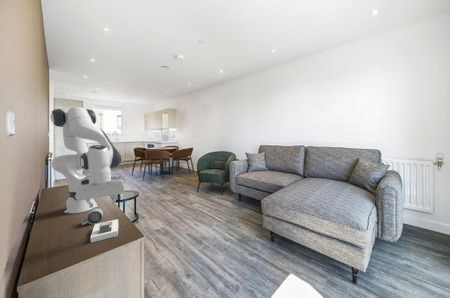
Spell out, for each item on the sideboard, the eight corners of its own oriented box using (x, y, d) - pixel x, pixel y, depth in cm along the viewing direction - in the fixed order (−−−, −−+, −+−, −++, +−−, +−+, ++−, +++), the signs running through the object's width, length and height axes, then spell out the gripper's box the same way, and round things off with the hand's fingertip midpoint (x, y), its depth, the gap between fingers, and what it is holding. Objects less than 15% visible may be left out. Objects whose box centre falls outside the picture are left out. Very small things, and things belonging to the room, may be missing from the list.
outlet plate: (95, 228, 102) (94, 224, 101) (118, 223, 107) (118, 219, 107) (90, 242, 88) (90, 237, 87) (117, 235, 93) (117, 231, 93)
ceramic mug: (103, 217, 116) (102, 205, 115) (103, 222, 109) (101, 209, 108) (82, 222, 110) (80, 209, 110) (80, 228, 103) (78, 214, 103)
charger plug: (101, 234, 95) (100, 223, 95) (110, 232, 97) (109, 221, 97) (100, 238, 92) (99, 226, 91) (109, 235, 93) (108, 224, 93)
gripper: (124, 174, 100) (126, 199, 101) (76, 179, 90) (79, 207, 91) (124, 176, 95) (126, 202, 96) (73, 182, 85) (76, 212, 86)
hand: (103, 205), depth 93 cm, fingers open, 8 cm apart
